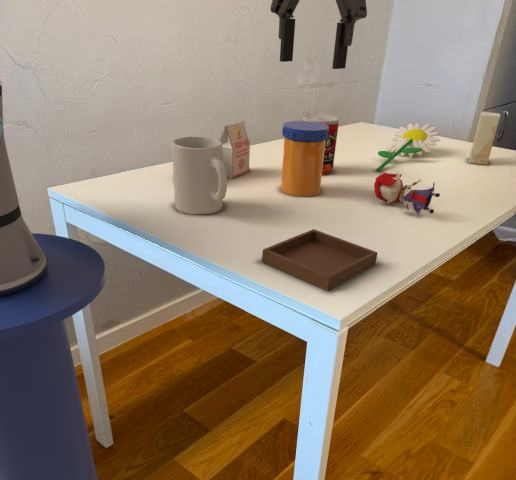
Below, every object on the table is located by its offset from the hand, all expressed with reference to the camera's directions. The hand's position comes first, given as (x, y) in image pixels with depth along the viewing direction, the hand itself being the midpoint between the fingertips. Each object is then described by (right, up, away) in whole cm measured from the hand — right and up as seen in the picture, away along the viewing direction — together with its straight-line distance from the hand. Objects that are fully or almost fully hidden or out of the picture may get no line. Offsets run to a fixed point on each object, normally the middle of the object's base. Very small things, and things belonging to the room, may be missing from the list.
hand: (311, 64), depth 88 cm
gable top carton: (-15, -12, +21) cm, 28 cm away
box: (+45, -3, +38) cm, 59 cm away
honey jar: (-1, -18, +12) cm, 22 cm away
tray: (-1, -37, -16) cm, 40 cm away
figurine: (+18, -23, +6) cm, 30 cm away
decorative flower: (+26, -3, +37) cm, 45 cm away
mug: (-19, -25, +1) cm, 32 cm away
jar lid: (0, -9, +6) cm, 10 cm away
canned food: (+4, -10, +25) cm, 27 cm away
